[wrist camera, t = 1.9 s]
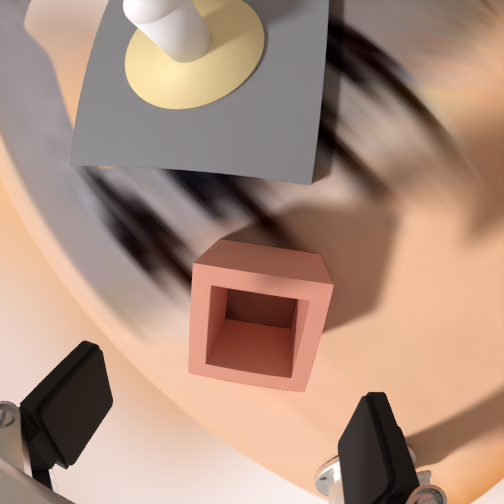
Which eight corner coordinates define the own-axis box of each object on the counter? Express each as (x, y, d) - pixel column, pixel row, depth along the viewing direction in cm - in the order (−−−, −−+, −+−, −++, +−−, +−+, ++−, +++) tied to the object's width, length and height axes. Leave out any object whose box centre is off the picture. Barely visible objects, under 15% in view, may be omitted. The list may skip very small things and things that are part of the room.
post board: (327, -21, 14) (341, -97, 5) (309, 185, 18) (331, 188, 9) (124, -13, 15) (71, -60, 6) (81, 165, 20) (-8, 168, 11)
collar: (320, 254, 19) (333, 284, 14) (301, 341, 21) (304, 392, 15) (219, 238, 20) (193, 262, 14) (211, 327, 22) (188, 372, 16)
